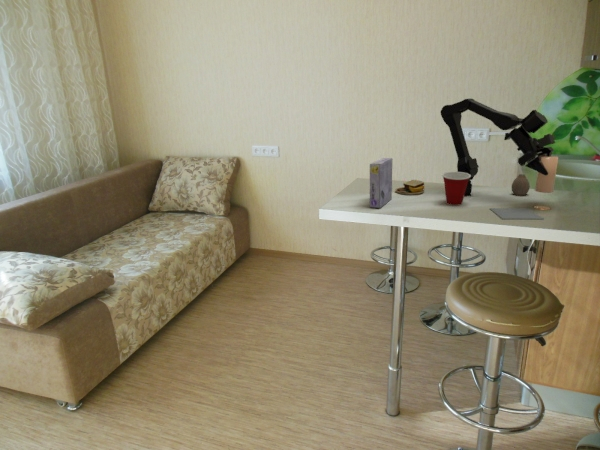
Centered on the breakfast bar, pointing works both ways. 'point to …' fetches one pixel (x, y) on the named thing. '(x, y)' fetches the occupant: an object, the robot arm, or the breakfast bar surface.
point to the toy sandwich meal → (411, 188)
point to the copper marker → (542, 207)
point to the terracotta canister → (547, 181)
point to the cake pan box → (380, 182)
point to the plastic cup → (455, 186)
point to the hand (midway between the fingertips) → (550, 173)
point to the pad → (516, 214)
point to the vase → (520, 185)
